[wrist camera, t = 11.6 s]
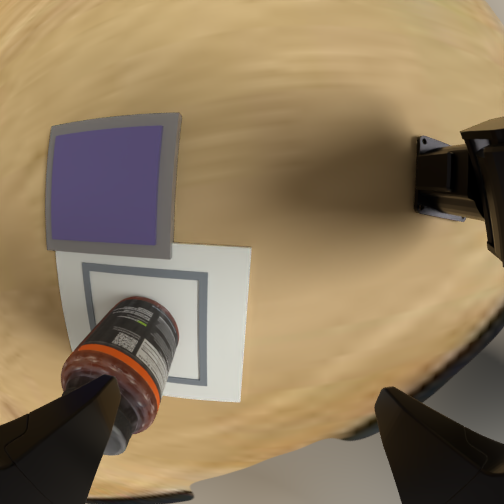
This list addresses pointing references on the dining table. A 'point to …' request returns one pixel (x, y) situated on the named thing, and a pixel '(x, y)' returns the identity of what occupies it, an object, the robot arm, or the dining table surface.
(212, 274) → the form board
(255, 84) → the dining table surface
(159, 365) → the supplement bottle
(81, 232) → the ink pad
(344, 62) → the dining table surface
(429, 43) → the dining table surface
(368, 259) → the dining table surface
